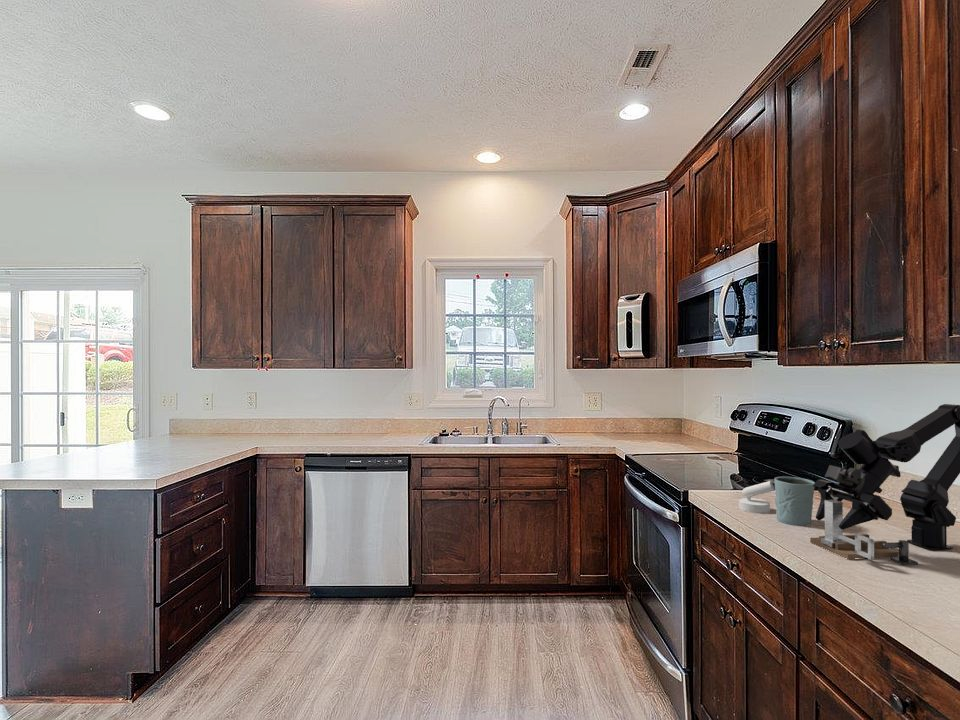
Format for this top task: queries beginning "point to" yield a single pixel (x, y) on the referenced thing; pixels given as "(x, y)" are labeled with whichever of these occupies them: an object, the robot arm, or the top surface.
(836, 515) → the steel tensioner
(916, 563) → the keeper hook
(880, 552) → the track board
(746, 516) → the top surface
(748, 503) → the wall hook
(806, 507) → the green embossed cup
